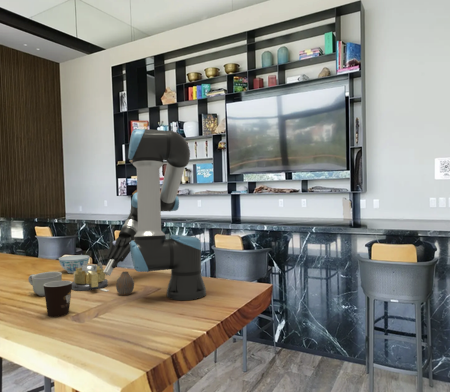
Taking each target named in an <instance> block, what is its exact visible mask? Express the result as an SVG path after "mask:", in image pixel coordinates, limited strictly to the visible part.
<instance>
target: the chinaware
mask: <svg viewBox="0 0 450 392" xmlns="http://www.w3.org/2000/svg"><path fill="white" fill-rule="evenodd" d="M89 260H90V255H87V254H86V255H85V254H76V255H75V254H74V255H72V254H71V255H66V256H61V257H58V262H59V264H60V266H61V267H62V269H63V270H65V271H67V274H74V272H75V271H76V268H82V266H84V265H89Z"/></svg>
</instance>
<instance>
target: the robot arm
mask: <svg viewBox="0 0 450 392" xmlns="http://www.w3.org/2000/svg"><path fill="white" fill-rule="evenodd" d="M190 158H191V151H190V146H189V144H188V142H187V141H186V139H185V138H184V137H183V135H181V134H180V133H179V132H176V131H173V130H161V129H160V130H159V129H149V128H143V129H141V128H139V129H133V131H132V132H131V135H130V140H129V145H128V160H131V161H132V165H133V166H134V167H135V168H136V192H135V193H134V194H133V195H132V198H131V201H130V203H131V204H130V210H129V211H130V212H129V214H128V217H127V218H126V220H125V221H124V224H123V226H122V227H121V229H120V230H119V233H118V236H117V238H116V239H115V240H110V242H109V247H108V250H107V253H106V256H105V258H106V259H107V262H106V264H105V268H104V271H103V272H104V273H105V276H110V277H111V275H112V273H113V271H114V269H115V268H117V265H119V263H120V262H122V263H123V262H124V261H125V259H127V258H126V257H128V255H129V254H131V262H132V266H133V269H134V270H135V271H136V272H138V273H141V272H143V273H144V272H147V273H148V272H157V271H170V273H171V274H170V279H169V282H168V285H167V289H166V297H167V298H168V299H170V300H175V301H191V300H193V299H194V300H198V299H197V298H199V299H202V298H204V297H205V296H207V289H206V288H207V287H206V285H205V283H204V279H203V276H202V246H201V245H202V244H201V239H200V238H199V237H196V236H191V235H184V234H183V235H182V234H171V235H170V238H166V234H165V232H164V231H162V215H161V214H162V213H161V212H176V211H178V210H179V207H180V199H179V196H178V191H179V190H180V189H179V188H180V185H181V182H182V178H183V174H184V171H185V167H187V166H188V164H189V161H190ZM164 161H166V166H165V173H164V176H163V180H162V183H161V180H160V179H161V178H160V177H161V176H160V172H161V171H160V168H161V167H163V165H164ZM161 184H162V186H161ZM203 296H204V297H203ZM201 297H202V298H201Z"/></svg>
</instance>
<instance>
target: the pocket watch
mask: <svg viewBox="0 0 450 392" xmlns="http://www.w3.org/2000/svg"><path fill="white" fill-rule="evenodd" d="M101 260H102V257H101V256H99V258H98V262H97V264H96V265H97V266H100V269H104V267H103V263H102V261H101Z"/></svg>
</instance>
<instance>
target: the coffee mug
mask: <svg viewBox="0 0 450 392" xmlns="http://www.w3.org/2000/svg"><path fill="white" fill-rule="evenodd" d="M72 282H73V281H71V280H62V281H54V282H49V283H46V284H44V292H45V296H44V299H45V306H46V313H47V317H50V318H58V317H64V316H66V315H69V314H70V306H71V305H70V304H71V296H72V291H73V290H72Z"/></svg>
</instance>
